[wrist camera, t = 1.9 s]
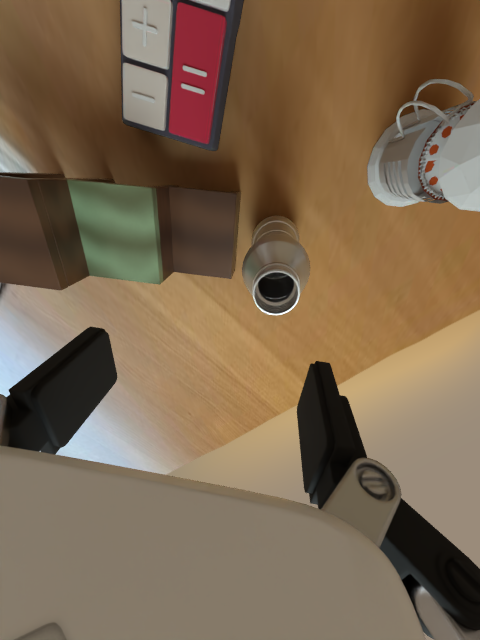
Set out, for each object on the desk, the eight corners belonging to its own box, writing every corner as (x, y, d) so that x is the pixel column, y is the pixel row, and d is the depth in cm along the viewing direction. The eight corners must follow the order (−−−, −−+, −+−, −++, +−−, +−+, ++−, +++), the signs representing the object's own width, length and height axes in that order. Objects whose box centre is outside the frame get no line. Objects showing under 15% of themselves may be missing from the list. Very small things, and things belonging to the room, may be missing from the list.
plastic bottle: (301, 214, 34) (330, 251, 16) (293, 262, 37) (310, 335, 20) (254, 211, 34) (235, 244, 17) (251, 259, 38) (232, 327, 20)
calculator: (117, 122, 28) (112, -111, 20) (136, 127, 31) (138, -69, 23) (211, 151, 28) (244, -67, 20) (218, 152, 32) (249, -32, 23)
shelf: (56, 173, 35) (-59, 170, 23) (240, 192, 33) (221, 199, 21) (76, 251, 40) (-9, 281, 28) (234, 270, 39) (217, 311, 27)
